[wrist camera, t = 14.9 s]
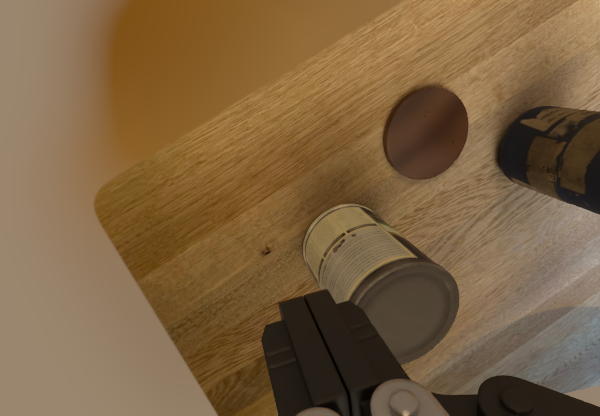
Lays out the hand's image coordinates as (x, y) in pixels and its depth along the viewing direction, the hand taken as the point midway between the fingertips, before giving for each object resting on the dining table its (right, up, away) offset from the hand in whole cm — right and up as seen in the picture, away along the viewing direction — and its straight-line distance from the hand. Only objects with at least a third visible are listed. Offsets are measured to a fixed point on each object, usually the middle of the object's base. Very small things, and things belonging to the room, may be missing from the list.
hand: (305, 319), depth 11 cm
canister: (+27, +11, +34) cm, 45 cm away
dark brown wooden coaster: (+14, +12, +29) cm, 34 cm away
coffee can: (+5, -1, +32) cm, 32 cm away
